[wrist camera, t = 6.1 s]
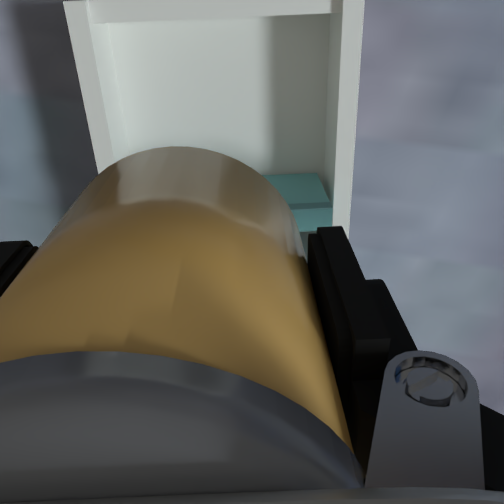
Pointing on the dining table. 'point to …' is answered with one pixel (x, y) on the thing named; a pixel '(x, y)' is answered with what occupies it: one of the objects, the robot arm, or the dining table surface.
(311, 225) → the plate
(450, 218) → the dining table surface
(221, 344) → the amber jar
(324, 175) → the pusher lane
